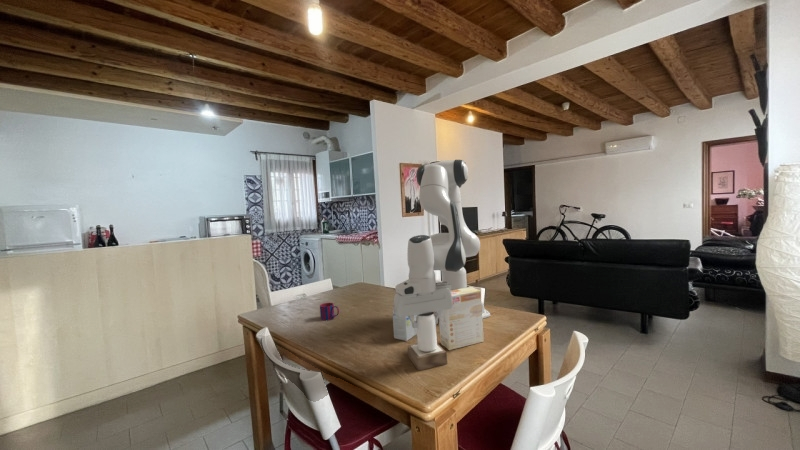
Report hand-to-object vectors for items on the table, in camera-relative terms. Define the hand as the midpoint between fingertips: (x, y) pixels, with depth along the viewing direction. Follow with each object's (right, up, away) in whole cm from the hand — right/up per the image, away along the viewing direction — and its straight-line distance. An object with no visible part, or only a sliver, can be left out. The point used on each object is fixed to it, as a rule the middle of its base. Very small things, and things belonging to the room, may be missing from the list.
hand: (424, 325), depth 103 cm
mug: (-43, -13, +49) cm, 66 cm away
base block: (+1, -12, +1) cm, 12 cm away
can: (+1, -8, 0) cm, 8 cm away
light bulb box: (-5, -12, +23) cm, 26 cm away
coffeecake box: (+15, -11, +12) cm, 22 cm away
